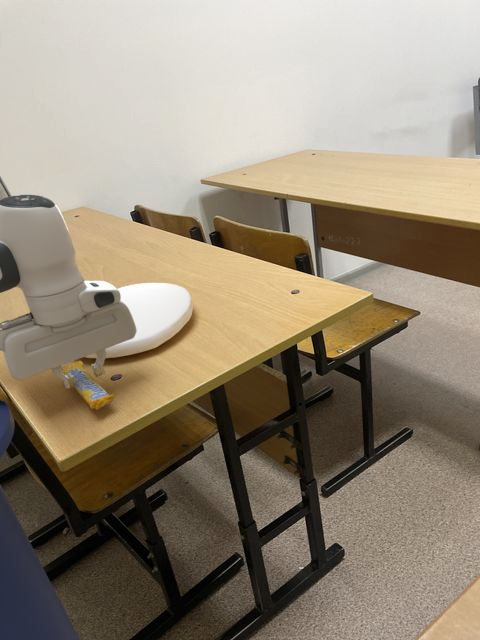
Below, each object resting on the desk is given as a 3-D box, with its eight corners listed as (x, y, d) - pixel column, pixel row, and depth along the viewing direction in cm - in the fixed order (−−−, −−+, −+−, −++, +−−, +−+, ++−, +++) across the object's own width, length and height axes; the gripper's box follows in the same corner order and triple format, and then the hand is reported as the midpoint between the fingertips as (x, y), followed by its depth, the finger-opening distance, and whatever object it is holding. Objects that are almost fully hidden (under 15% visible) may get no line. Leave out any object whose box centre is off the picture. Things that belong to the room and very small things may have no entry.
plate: (166, 340, 93) (31, 348, 98) (176, 369, 96) (45, 375, 102) (202, 265, 115) (90, 276, 120) (208, 291, 119) (100, 300, 124)
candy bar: (118, 403, 83) (115, 393, 82) (93, 415, 81) (89, 405, 80) (83, 366, 95) (80, 357, 94) (60, 375, 93) (57, 366, 92)
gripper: (-8, 333, 74) (25, 414, 80) (128, 287, 83) (148, 363, 90) (-16, 320, 78) (16, 397, 85) (114, 278, 88) (134, 351, 94)
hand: (85, 379), depth 87 cm, fingers closed on candy bar, 3 cm apart
